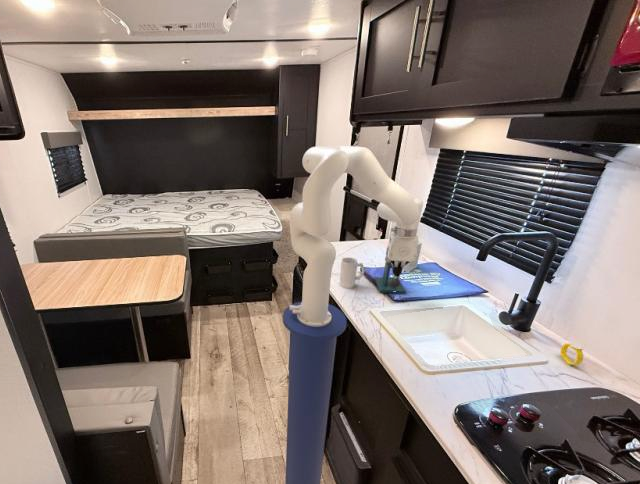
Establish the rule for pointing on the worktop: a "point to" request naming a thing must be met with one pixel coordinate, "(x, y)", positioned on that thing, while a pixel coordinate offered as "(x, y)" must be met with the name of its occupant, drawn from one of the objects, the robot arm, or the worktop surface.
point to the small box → (413, 265)
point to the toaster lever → (395, 278)
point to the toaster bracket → (388, 282)
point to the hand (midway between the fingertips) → (396, 274)
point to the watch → (578, 351)
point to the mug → (349, 272)
